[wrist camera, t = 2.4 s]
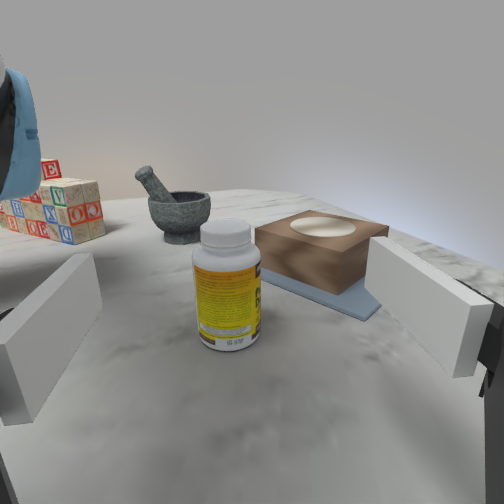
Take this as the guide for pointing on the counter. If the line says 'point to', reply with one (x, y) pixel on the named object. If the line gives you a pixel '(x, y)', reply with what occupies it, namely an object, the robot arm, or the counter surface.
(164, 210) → the mortar and pestle
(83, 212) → the stack of blocks
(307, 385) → the counter surface
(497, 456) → the robot arm
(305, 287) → the mat
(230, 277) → the supplement bottle
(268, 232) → the foundation block
